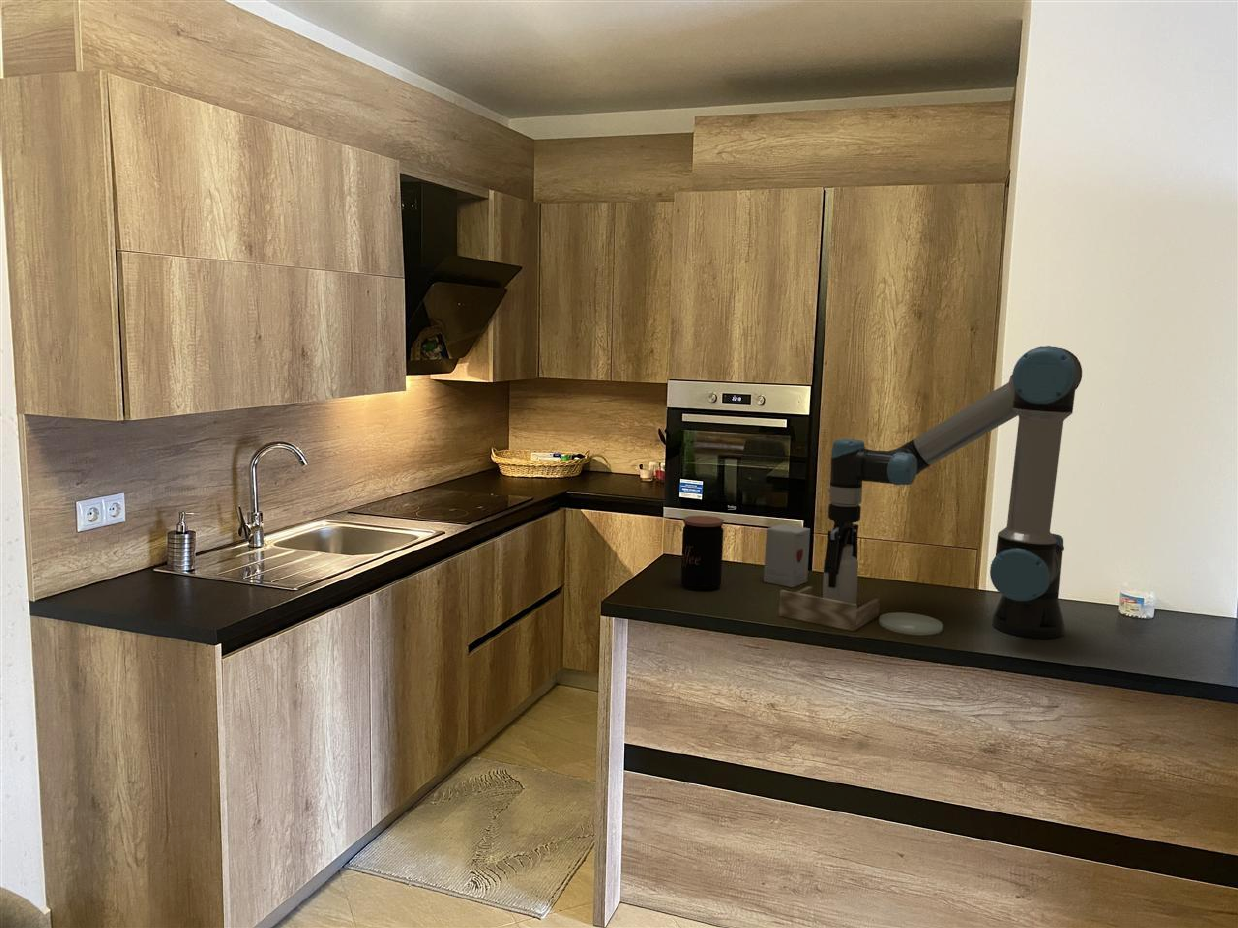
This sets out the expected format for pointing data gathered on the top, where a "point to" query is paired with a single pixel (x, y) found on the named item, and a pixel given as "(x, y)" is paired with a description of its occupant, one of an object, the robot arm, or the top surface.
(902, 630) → the sage coaster
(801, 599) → the oak stall
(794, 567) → the supplement box
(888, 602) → the top surface
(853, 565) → the pill bottle
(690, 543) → the coffee jar
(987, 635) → the top surface
